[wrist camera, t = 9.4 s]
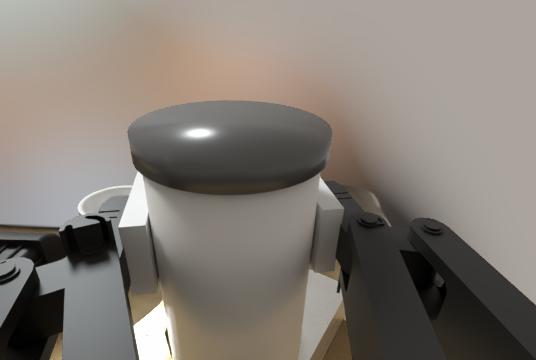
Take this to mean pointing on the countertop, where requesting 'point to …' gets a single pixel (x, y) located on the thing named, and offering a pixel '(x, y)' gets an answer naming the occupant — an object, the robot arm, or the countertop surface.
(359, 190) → the countertop surface
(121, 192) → the teacup
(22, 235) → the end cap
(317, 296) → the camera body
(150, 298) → the countertop surface
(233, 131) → the telephoto lens
